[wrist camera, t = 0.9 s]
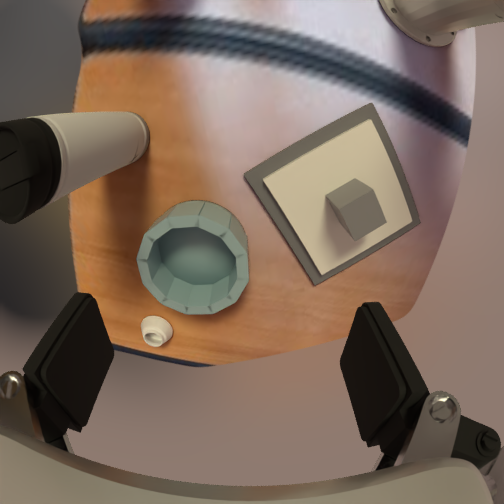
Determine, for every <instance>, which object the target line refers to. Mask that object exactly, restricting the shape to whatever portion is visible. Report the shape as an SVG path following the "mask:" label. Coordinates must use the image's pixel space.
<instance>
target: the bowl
mask: <svg viewBox="0 0 504 504" xmlns="http://www.w3.org/2000/svg"><path fill="white" fill-rule="evenodd" d="M136 260H137V264H138V268H139V272H140V275H141V279H142V283H143V285H144V286H145V287H146V288H147V289H148V290H149V291H150V292H151V294H152V295H153V296H154V297H155V298H156V299H157V300H158V301H159V302H160V303H162V304H163V305H165V306H167V307H170V308H172V309H174V310H177V311H179V312H181V313H184V314H186V313H187V314H214V313H216V312H218V311H220V310H222V309H224V308H226V307H228V306H230V305H232V304H233V303H235V302H236V301H237V300H238V298H239V296H240V295H241V293H242V291H243V290H244V288H245V286H246V285H247V283H248V281H249V257H248V240H247V235H246V233H245V231H244V228H243V226H242V225H241V223H240V222H239V220H238V219H237V218H236V217H235V216H234V215H233V214H232V213H231V212H230V211H228V210H227V209H226V208H224V207H222V206H220V205H218V204H216V203H213V202H209V201H203V200H191V201H185V202H182V203H179V204H177V205H174V206H173V207H171V208H170V209H168V210H167V211H166V212H165V213H164V214H163V215H162V216H160V217H159V218H158V219H157V220H156V221H155V222H154V223H153V224H152V226H151V227H150V228H149V229H148V230H147V232H146V233H145V234H144V237H143V240H142V243H141V246H140V249H139V252H138V255H137V258H136Z"/></svg>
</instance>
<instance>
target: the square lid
mask: <svg viewBox="0 0 504 504" xmlns="http://www.w3.org/2000/svg"><path fill="white" fill-rule="evenodd" d="M263 181H264V182H265V184H266V185H267V187H268V188H269V190H270V192H271V193H272V195H273V196H274V198H275V199H276V201H277V203H278V204H279V206H280V207H281V209H282V210H283V212H284V214H285V215H286V217H287V218H288V220H289V222H290V223H291V225H292V226H293V228H294V230H295V231H296V233H297V235H298V236H299V238H300V240H301V241H302V243H303V245H304V246H305V248H306V250H307V251H308V253H309V255H310V256H311V258H312V260H313V261H314V263H315V265H316V266H317V268H318V270H319V272H320V273H321V275H323V274H325V273H326V272H328V271H330V270H332V269H334V268H335V267H337V266H339V265H341V264H342V263H344V262H346V261H348V260H349V259H351V258H353V257H354V256H356V255H358V254H360V253H361V252H363V251H365V250H366V249H368V248H370V247H371V246H373V245H375V244H376V243H378V242H380V241H381V240H383V239H385V238H386V237H388V236H390V235H391V234H393V233H395V232H396V231H398V230H399V229H401V228H403V227H404V226H406V225H407V224H409V223H411V222H412V218H411V215H410V212H409V209H408V206H407V203H406V200H405V197H404V194H403V192H402V189H401V186H400V184H399V181H398V178H397V176H396V173H395V171H394V168H393V166H392V164H391V161H390V159H389V157H388V154H387V152H386V150H385V147H384V145H383V143H382V141H381V139H380V137H379V134H378V132H377V130H376V128H375V126H374V124H373V122H372V120H370V119H368V120H366V121H364V122H362V123H360V124H358V125H357V126H355V127H353V128H351V129H349V130H347V131H345V132H343V133H342V134H340V135H338V136H336V137H334V138H332V139H331V140H329V141H327V142H325V143H323V144H322V145H320V146H318V147H316V148H314V149H313V150H311V151H309V152H307V153H306V154H304V155H302V156H300V157H299V158H297V159H295V160H294V161H292V162H290V163H288V164H287V165H285V166H283V167H282V168H280V169H278V170H277V171H275V172H273V173H272V174H270V175H268V176H267V177H265V178H263Z"/></svg>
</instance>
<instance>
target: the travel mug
mask: <svg viewBox="0 0 504 504" xmlns="http://www.w3.org/2000/svg"><path fill="white" fill-rule="evenodd" d="M149 138H150V136H149V129H148V126H147V124H146V122H145V121H144V119H143V118H142V117H141V116H139V115H138V114H136V113H132V112H81V113H65V114H52V115H42V116H33V117H27V118H24V119H18V120H11V121H6V122H0V219H1V220H2V221H4V222H5V223H9V224H15V223H17V222H19V221H21V220H22V219H24V218H26V217H27V216H29V215H30V214H32V213H34V212H35V211H36V210H38V209H41V208H43V207H45V206H47V205H48V204H50V203H52V202H54V201H56V200H58V199H59V198H61V197H63V196H65V195H67V194H68V193H70V192H72V191H74V190H76V189H78V188H80V187H82V186H84V185H86V184H88V183H90V182H92V181H94V180H96V179H98V178H100V177H102V176H104V175H106V174H108V173H111V172H113V171H115V170H117V169H119V168H122V167H124V166H126V165H128V164H131V163H133V162H135V161H137V160H138V159H139V158H140V157H142V155H143V154H144V153H145V151H146V149H147V147H148V144H149Z"/></svg>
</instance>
